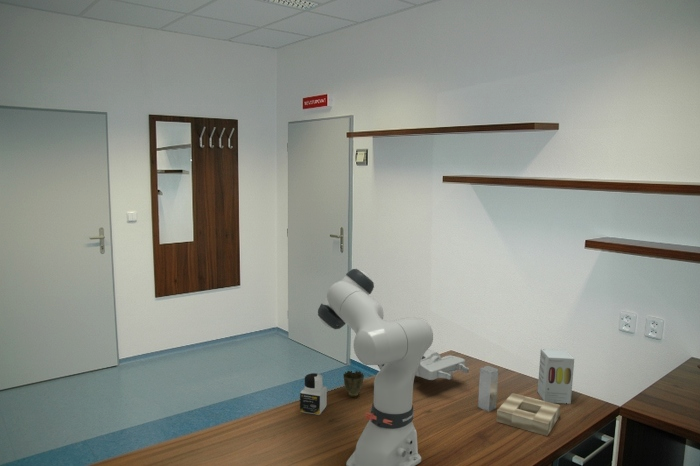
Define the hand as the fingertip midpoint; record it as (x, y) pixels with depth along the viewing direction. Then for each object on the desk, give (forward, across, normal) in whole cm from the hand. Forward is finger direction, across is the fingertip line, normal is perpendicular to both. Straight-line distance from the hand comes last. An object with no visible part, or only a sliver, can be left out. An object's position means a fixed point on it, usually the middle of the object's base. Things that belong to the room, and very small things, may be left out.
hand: (459, 373), depth 190 cm
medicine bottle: (-24, +48, -9) cm, 54 cm away
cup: (-24, +30, -9) cm, 39 cm away
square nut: (+26, -4, -8) cm, 27 cm away
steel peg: (+12, 0, -8) cm, 15 cm away
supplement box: (+23, -26, -8) cm, 35 cm away
